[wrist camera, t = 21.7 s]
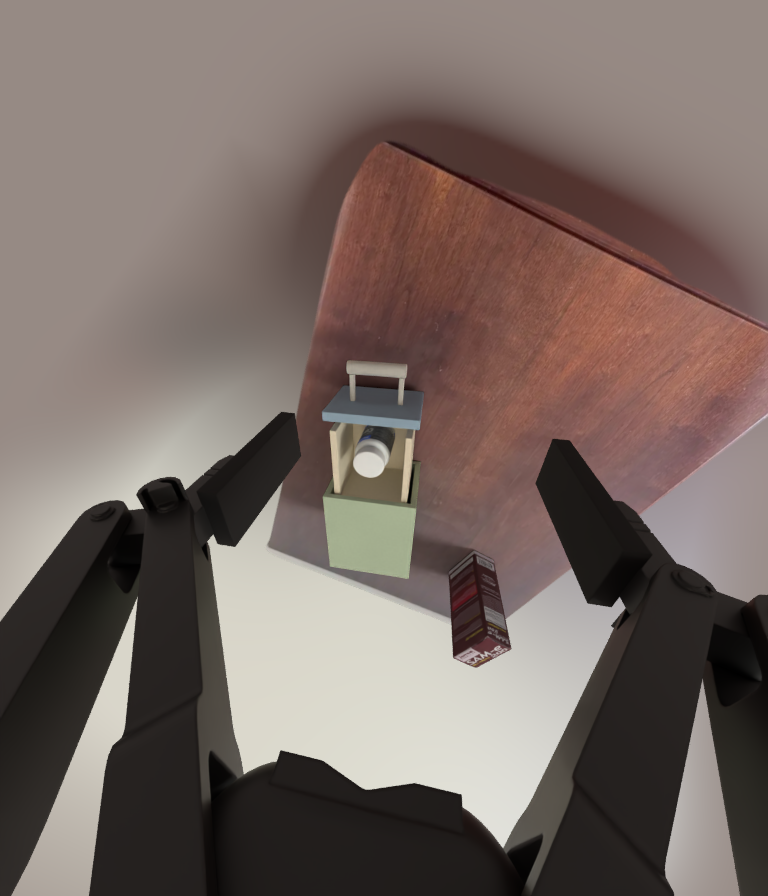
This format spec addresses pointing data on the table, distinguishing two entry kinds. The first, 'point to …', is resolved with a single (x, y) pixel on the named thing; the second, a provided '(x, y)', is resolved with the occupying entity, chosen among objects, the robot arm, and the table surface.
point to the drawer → (376, 409)
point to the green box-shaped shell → (371, 531)
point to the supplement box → (477, 611)
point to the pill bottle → (373, 450)
